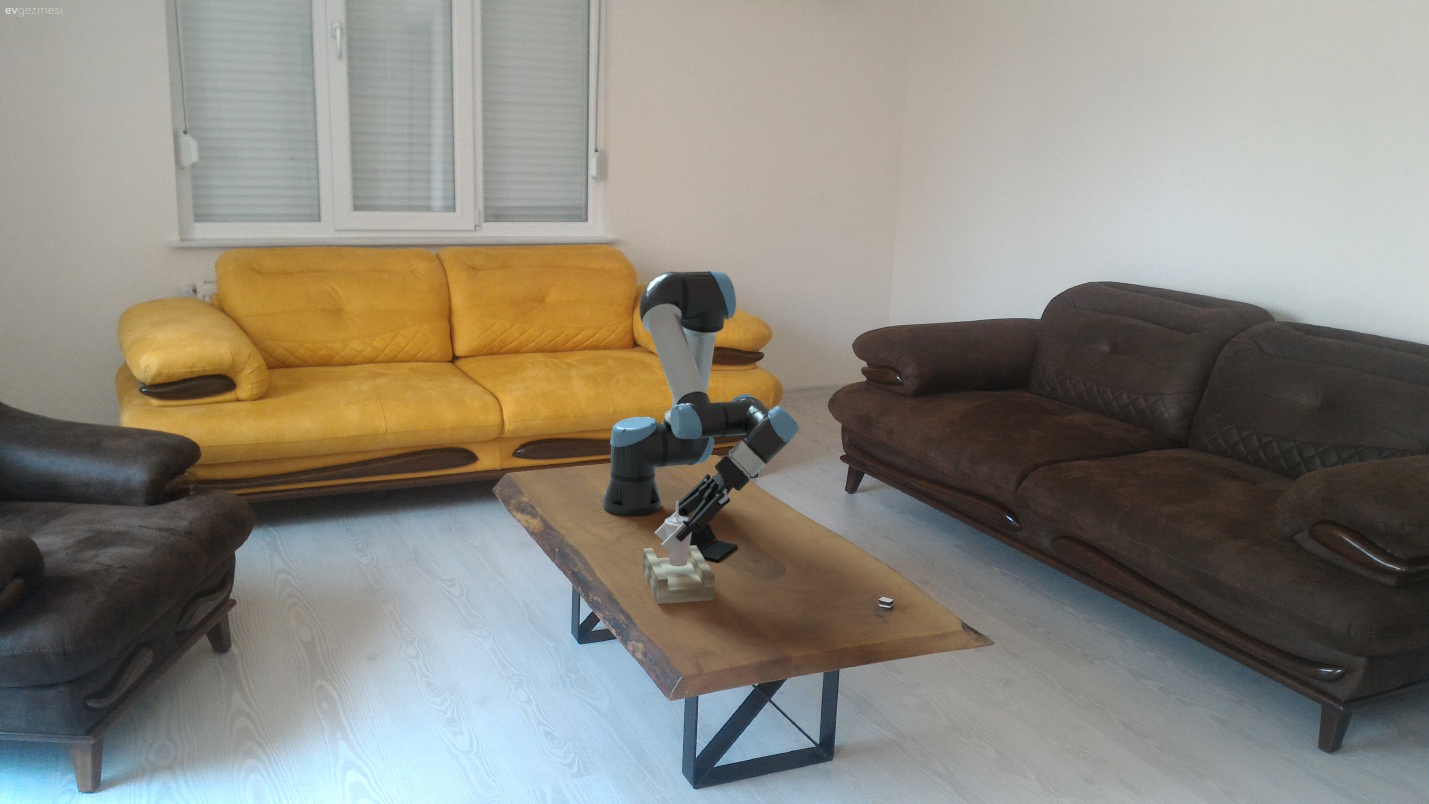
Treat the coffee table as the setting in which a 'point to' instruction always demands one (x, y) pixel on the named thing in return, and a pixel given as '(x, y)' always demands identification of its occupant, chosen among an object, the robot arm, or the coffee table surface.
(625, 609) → the coffee table surface
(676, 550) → the smoothie
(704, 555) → the handheld gaming console
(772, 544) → the coffee table surface
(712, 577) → the tray
